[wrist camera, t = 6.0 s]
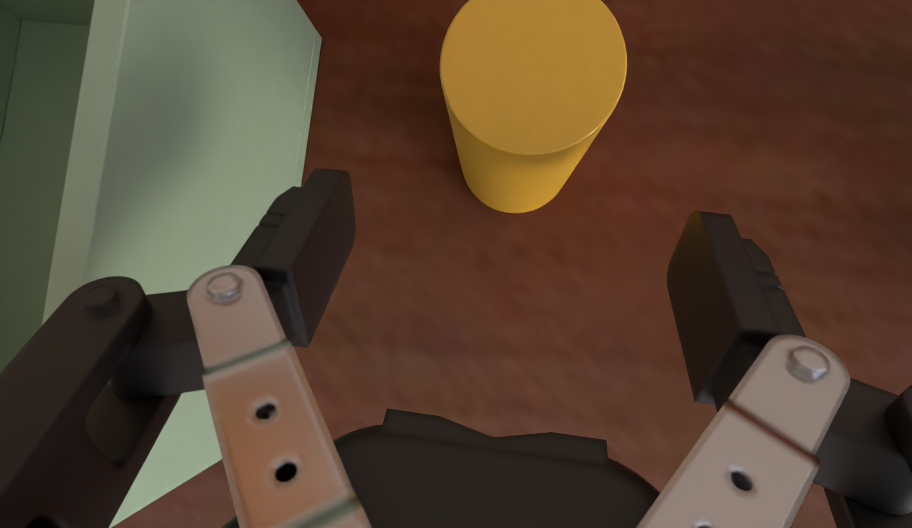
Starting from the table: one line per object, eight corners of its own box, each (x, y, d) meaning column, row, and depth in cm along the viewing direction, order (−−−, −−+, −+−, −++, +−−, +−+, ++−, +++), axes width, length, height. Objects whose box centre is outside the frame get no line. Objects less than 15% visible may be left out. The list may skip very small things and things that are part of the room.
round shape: (517, 85, 21) (536, -65, 12) (592, 161, 21) (668, 64, 12) (439, 158, 21) (401, 61, 12) (512, 235, 21) (527, 193, 12)
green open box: (24, 10, 23) (-384, -236, 12) (322, 38, 22) (161, -205, 11) (-39, 385, 22) (-535, 472, 12) (266, 432, 21) (37, 574, 11)
